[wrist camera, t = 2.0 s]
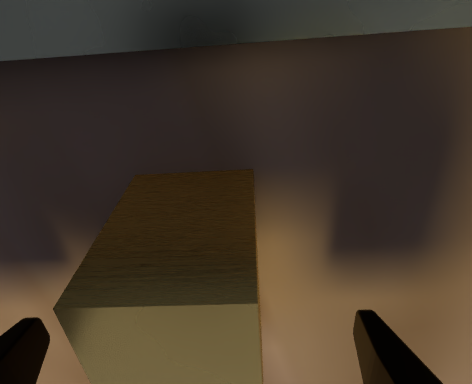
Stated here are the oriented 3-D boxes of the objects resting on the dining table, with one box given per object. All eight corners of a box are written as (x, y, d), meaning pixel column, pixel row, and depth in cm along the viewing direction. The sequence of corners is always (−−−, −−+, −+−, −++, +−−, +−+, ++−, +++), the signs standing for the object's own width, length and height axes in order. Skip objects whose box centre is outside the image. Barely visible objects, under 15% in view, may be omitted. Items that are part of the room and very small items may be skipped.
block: (174, 326, 14) (140, 481, 9) (136, 173, 10) (53, 308, 6) (261, 325, 13) (267, 482, 9) (253, 167, 10) (257, 303, 6)
